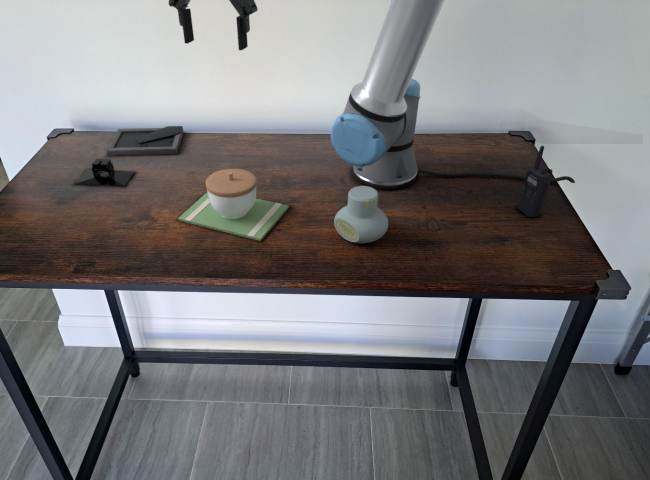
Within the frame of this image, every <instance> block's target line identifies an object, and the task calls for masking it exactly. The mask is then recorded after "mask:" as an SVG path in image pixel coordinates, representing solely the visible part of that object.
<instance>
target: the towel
mask: <svg viewBox="0 0 650 480" xmlns="http://www.w3.org/2000/svg"><path fill="white" fill-rule="evenodd" d="M289 208H290V206H289V205H287V204H283V203H281V202H280V203H279V202H274V201H269V200H265V199H260V198H256V199H255V203H254V205H253V207H252V208H251V210H250V211H249V212H248V213H247V214H246V215H245V216H244V217H242V218H239V219H226V218H224V217H222V216H221V215H220V214H219V213H217V212H216V211H215V210H214V209H213V207H212V206H211V204H210V201H209V198H208V194H207V192H206V193H204V194H203V195H202V196H201V197H200V198H199V199H197V201H195V202H194V203H193V204H192V205H191V206H190V207H189V208H188V209H187V210H185V211H184V212H183V213H182V214H181V215H180V216H178V218H177V220H178V221H179V222H183V223H187V224H191V225H195V226H199V227H203V228H207V229H211V230H215V231H219V232H222V233H226V234H227V233H228V234H231V235H235V236H239V237H242V238H247V239H251V240H255V241H258V242H261V241H262V240H263V239H264V238H265V237H266V236H267V234H269V232H270V231H271V230H272V229H273V227H274V226H275V225H276V224H277V223H278V221H280V219H281V218H282V217H283V215H285V214H286V212H287V211H288V210H289Z"/></svg>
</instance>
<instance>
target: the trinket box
mask: <svg viewBox="0 0 650 480" xmlns="http://www.w3.org/2000/svg"><path fill="white" fill-rule="evenodd" d="M257 184H258V183H257V177H256V176H255V174H253V172H251V171H249V170H247V169H244V168H243V169H241V168H225V169H220V170H217V171H215V172H213V173H211V174H210V175H209V176H208V177H206V180H205V189H206V193H207V194H208V198H209V201H210V204H211V206H212V207H213V209H214V210H215V211H216V212H217V213H219V214H220V215H221V216H222V217H224V218H226V219H239V218H242V217H244V216H245V215H246V214H247V213H248V212H249V211H250V210H251V208H252V207H253V205H254V203H255V199H257Z"/></svg>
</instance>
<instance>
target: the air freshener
mask: <svg viewBox="0 0 650 480" xmlns="http://www.w3.org/2000/svg"><path fill="white" fill-rule="evenodd" d="M378 203H379V192H378V191H377V190H376V188H372V187H369V186H366V185H358V186H354V187H352V188H351V189H349V191H348V194H347V204H346V205H345V206H344V207H342V208H340V209H339V210H338V212H336V214H335V217H334V220H333V226H334V227H335V230H336V232H337V233H338V234H339V235H340V236H341V237H342V238H343V239H345V240H346V241H348V242H350V243H355V244H370V243H373V242H376V241H377V240H380V239H381V238H383V236H384V235H385V234H386V233H387V231H388V228H389V219H388V217H387V215H386V214H385V212H384V211H383V210H382V209H381V208H380V207H379V206H378V205H379V204H378Z"/></svg>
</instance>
